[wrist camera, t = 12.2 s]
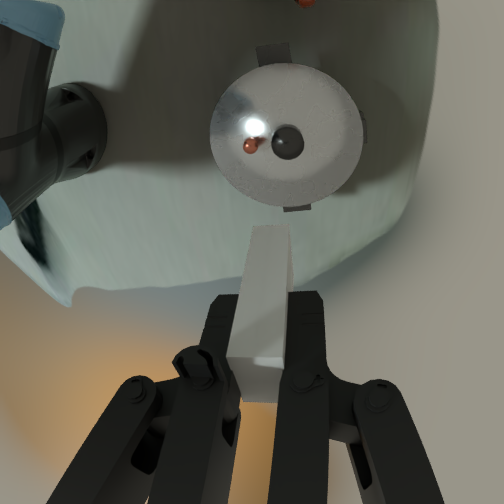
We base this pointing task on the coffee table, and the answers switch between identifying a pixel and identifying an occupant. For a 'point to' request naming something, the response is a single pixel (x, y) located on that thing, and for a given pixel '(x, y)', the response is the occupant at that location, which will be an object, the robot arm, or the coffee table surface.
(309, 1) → the mug
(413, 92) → the coffee table surface
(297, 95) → the lid
